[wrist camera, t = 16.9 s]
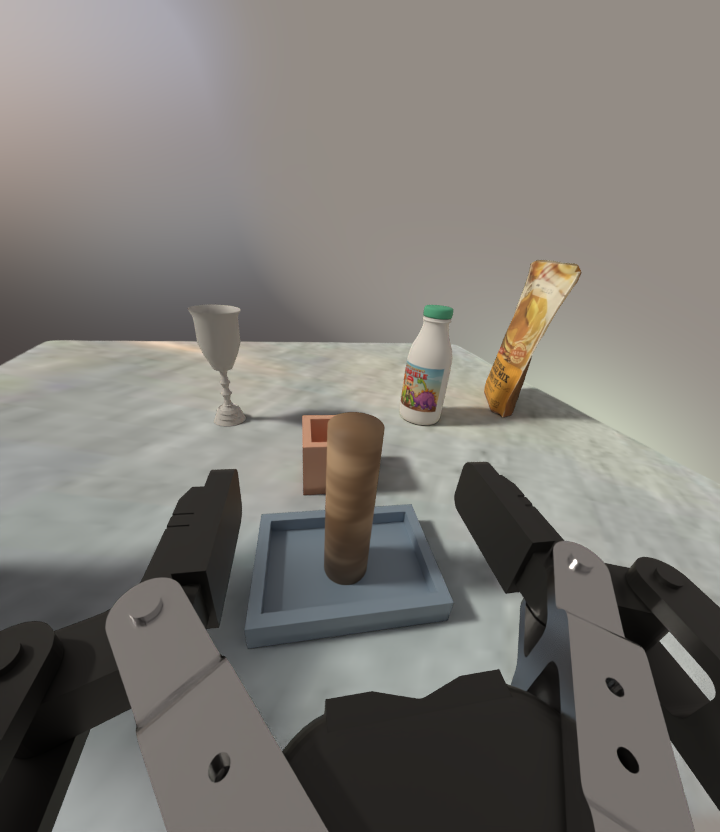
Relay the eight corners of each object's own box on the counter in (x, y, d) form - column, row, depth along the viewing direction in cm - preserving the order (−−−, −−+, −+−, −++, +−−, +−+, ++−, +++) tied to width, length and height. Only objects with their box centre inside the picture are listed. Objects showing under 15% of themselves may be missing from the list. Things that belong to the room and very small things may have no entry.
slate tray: (247, 648, 23) (244, 630, 22) (263, 531, 33) (261, 514, 32) (447, 620, 26) (453, 602, 25) (408, 520, 36) (411, 504, 34)
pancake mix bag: (508, 388, 76) (549, 261, 63) (527, 425, 59) (589, 262, 46) (479, 384, 77) (514, 258, 64) (491, 419, 60) (541, 258, 47)
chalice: (260, 419, 54) (250, 310, 45) (224, 434, 49) (206, 315, 40) (234, 405, 57) (221, 303, 49) (198, 418, 52) (177, 307, 44)
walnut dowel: (325, 587, 27) (329, 441, 20) (322, 548, 30) (325, 412, 23) (370, 582, 27) (390, 439, 20) (362, 545, 31) (377, 411, 24)
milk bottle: (413, 403, 64) (431, 301, 55) (447, 417, 59) (472, 309, 50) (390, 414, 59) (405, 304, 49) (425, 431, 54) (448, 312, 45)
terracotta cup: (303, 495, 38) (302, 447, 35) (303, 458, 45) (302, 415, 41) (364, 491, 39) (369, 445, 36) (355, 456, 46) (358, 414, 43)
